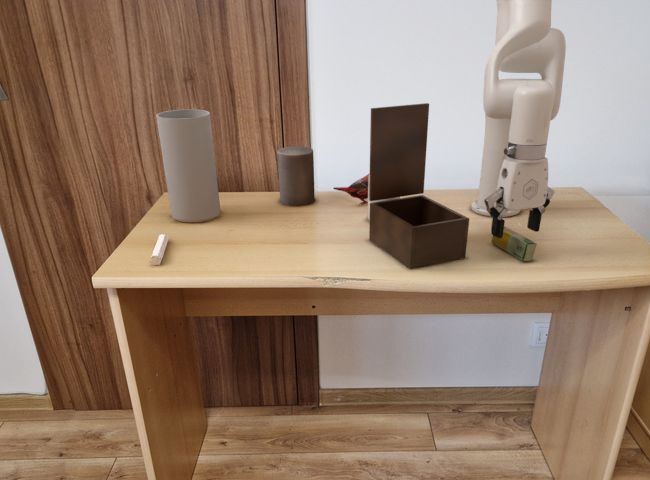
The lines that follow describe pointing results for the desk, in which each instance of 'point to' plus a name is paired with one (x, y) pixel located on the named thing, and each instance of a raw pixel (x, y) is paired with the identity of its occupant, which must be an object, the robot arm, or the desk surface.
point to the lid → (398, 150)
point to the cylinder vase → (189, 164)
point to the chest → (418, 231)
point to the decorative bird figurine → (357, 189)
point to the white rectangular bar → (159, 250)
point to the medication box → (516, 245)
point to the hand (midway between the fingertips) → (515, 233)
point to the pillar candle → (296, 176)
